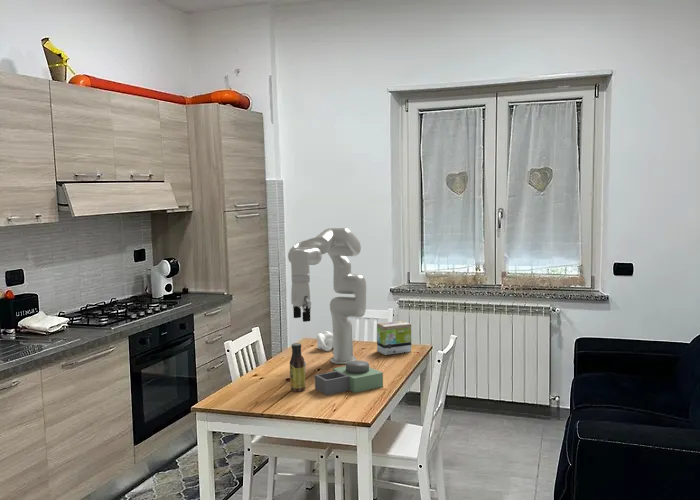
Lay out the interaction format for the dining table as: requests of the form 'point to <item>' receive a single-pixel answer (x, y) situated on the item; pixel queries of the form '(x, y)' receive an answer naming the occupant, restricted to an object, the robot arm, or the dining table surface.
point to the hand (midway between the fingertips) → (301, 319)
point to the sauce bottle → (297, 369)
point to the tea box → (393, 337)
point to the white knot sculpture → (325, 341)
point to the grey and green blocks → (349, 378)
